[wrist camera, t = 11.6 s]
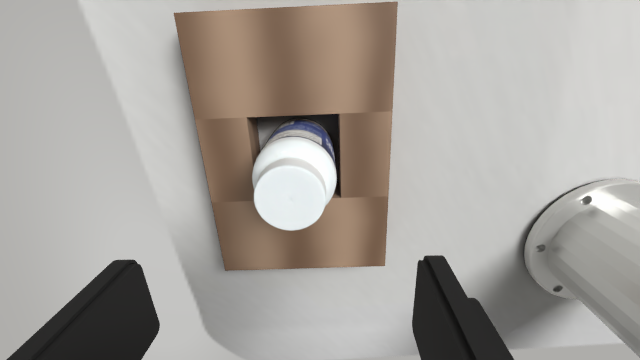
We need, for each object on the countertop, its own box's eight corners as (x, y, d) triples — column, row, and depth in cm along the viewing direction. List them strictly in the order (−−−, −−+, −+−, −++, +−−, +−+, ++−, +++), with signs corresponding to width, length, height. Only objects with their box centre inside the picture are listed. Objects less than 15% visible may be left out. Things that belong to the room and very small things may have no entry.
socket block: (387, 8, 21) (397, 1, 19) (378, 245, 29) (384, 265, 26) (192, 18, 22) (173, 12, 19) (234, 250, 29) (225, 270, 27)
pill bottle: (328, 182, 27) (330, 247, 18) (267, 173, 26) (238, 235, 17) (338, 122, 25) (347, 160, 16) (272, 112, 24) (242, 145, 15)
